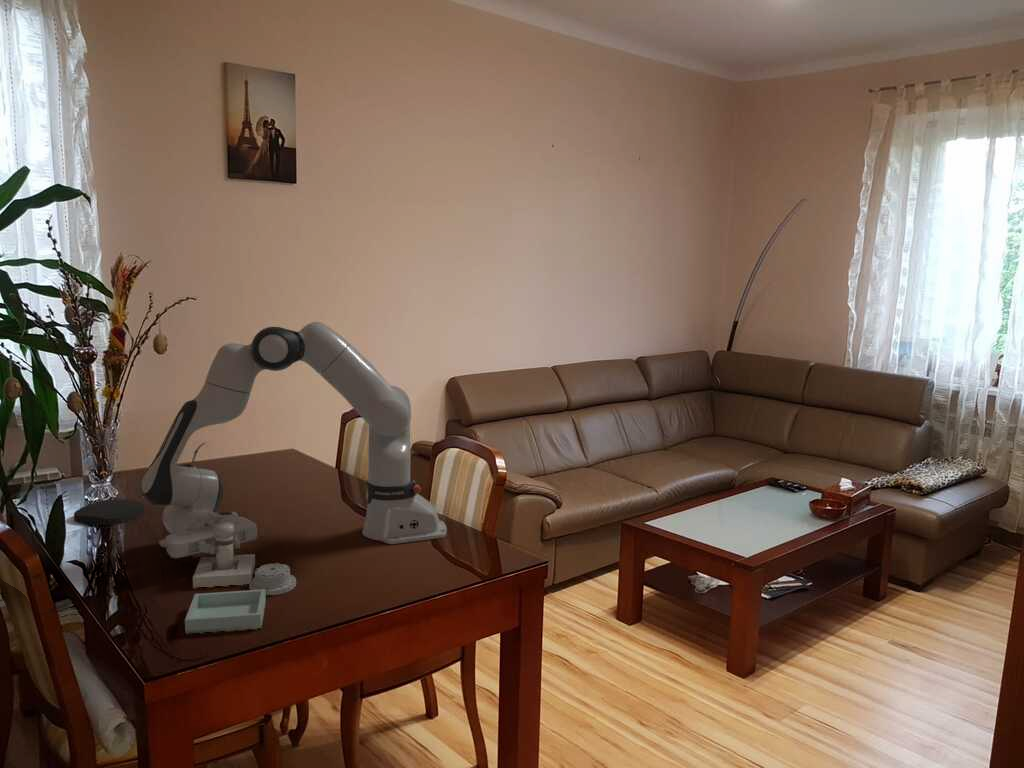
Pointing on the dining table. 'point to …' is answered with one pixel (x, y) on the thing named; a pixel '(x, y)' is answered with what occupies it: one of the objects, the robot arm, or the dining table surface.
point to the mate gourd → (193, 459)
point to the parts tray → (226, 611)
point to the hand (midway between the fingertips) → (226, 547)
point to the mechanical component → (273, 579)
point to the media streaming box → (108, 512)
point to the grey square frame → (224, 572)
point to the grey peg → (224, 546)
